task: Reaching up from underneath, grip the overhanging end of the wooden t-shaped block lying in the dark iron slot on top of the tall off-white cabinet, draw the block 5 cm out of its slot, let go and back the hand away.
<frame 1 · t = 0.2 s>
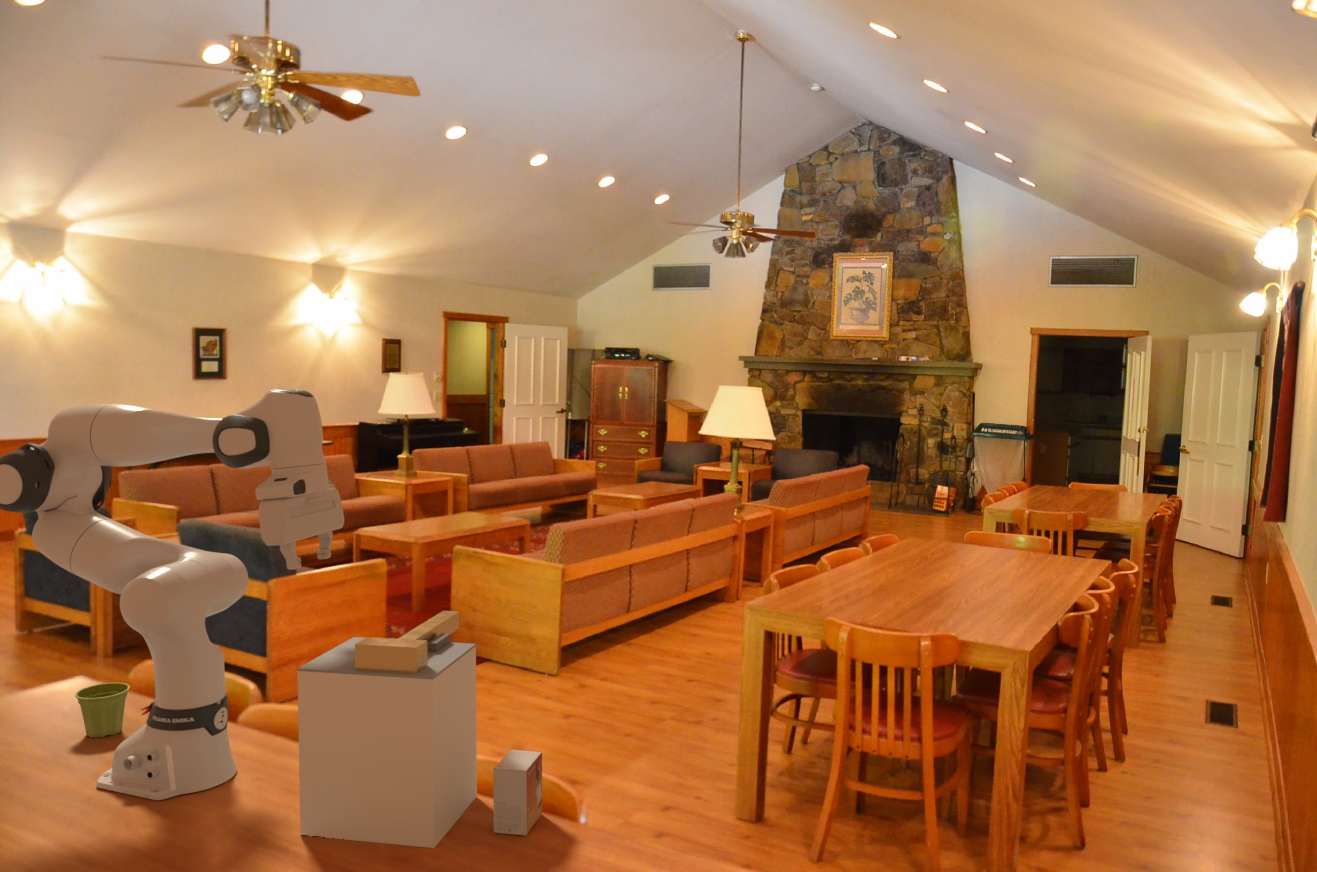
hand: (309, 563, 163), 39 cm above the table, tool pointing down, fingers open, 8 cm apart
plant pot: (104, 733, 190), on the table
wooden t-shaped block: (426, 644, 160), point 26 cm above the table, touching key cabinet
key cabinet: (392, 814, 155), on the table
small box: (518, 824, 153), on the table
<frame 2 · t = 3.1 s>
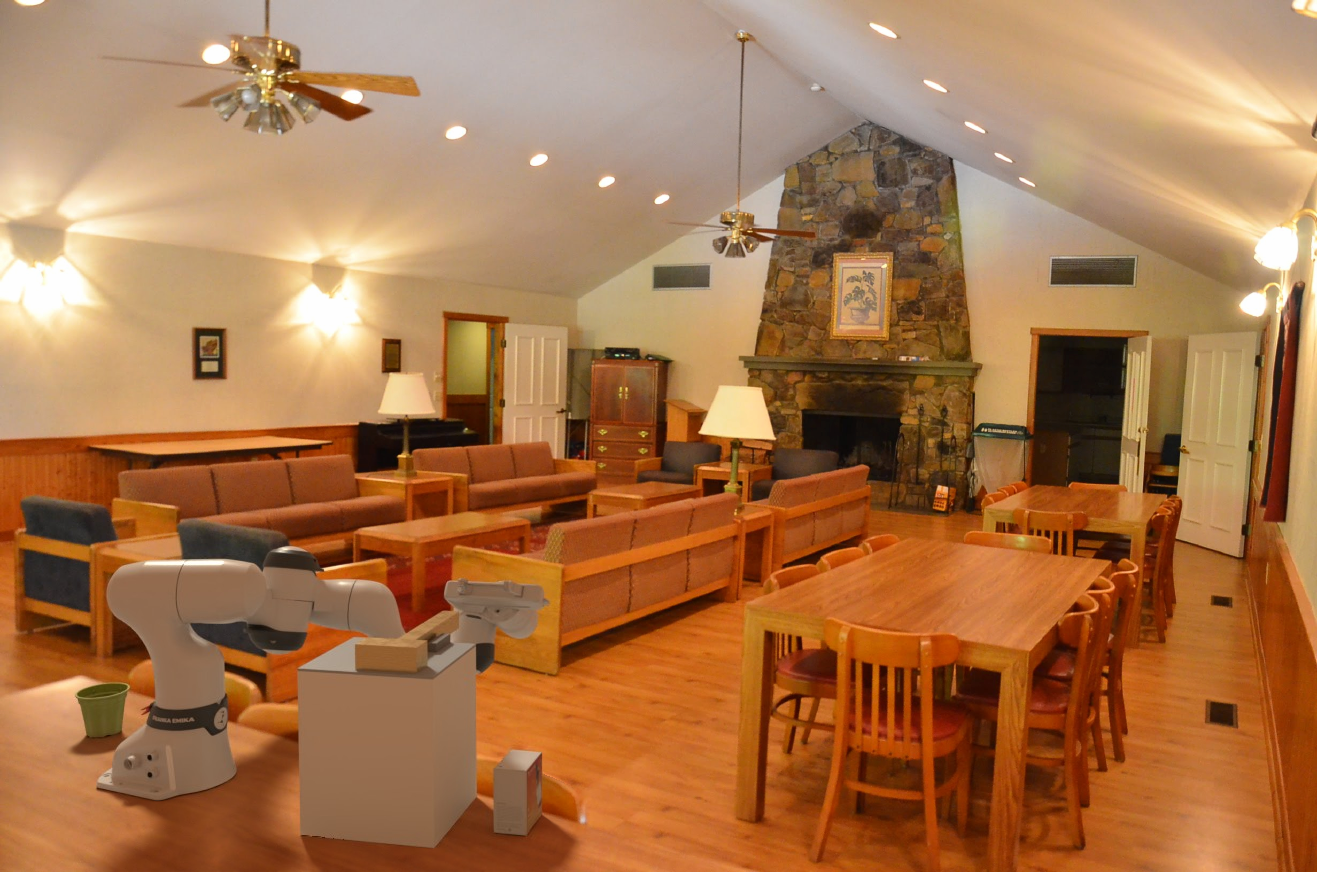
hand: (484, 583, 188), 31 cm above the table, tool pointing upward, fingers open, 8 cm apart
nothing on the table moved.
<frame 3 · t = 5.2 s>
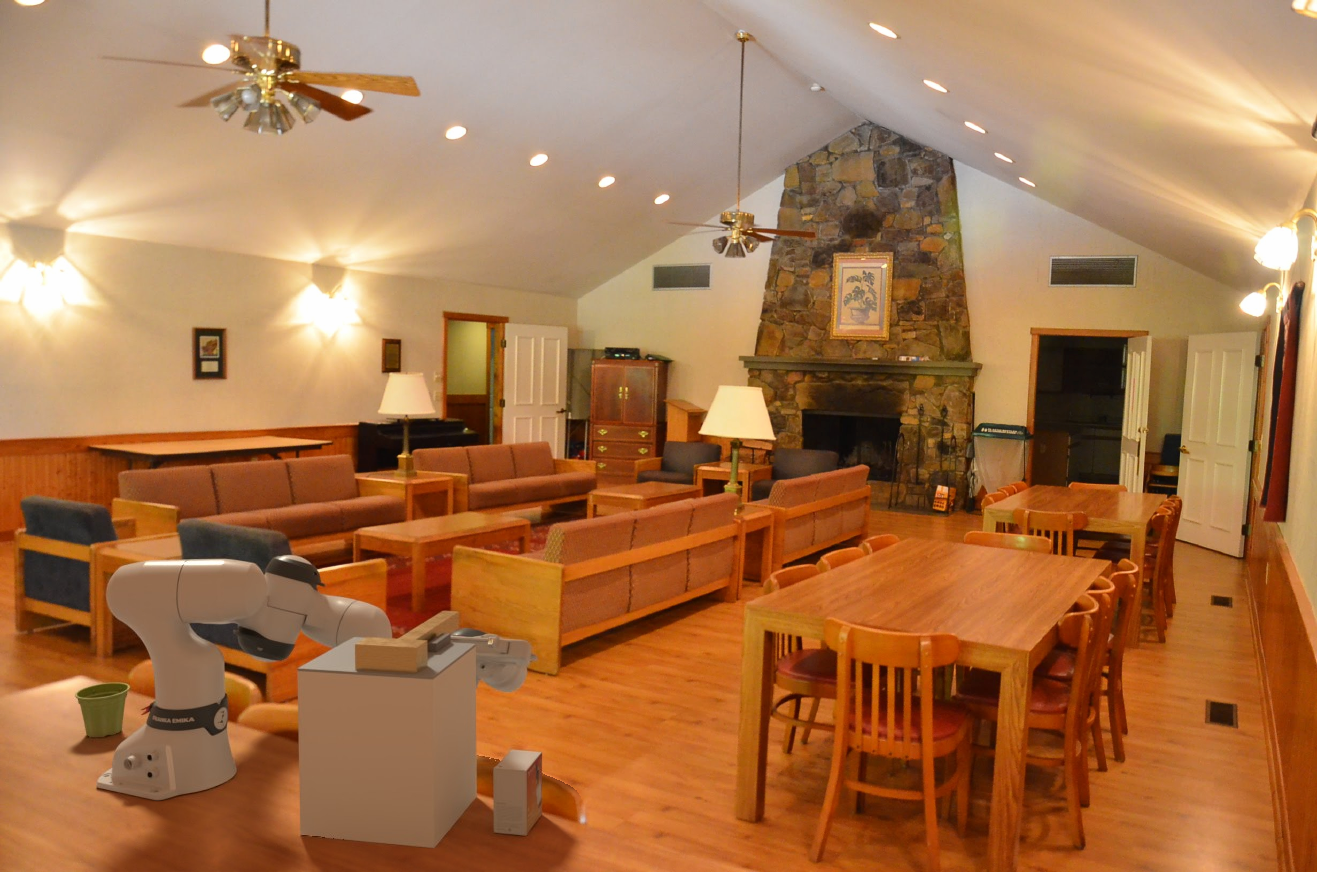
hand: (467, 639, 178), 22 cm above the table, tool pointing upward, fingers open, 8 cm apart
nothing on the table moved.
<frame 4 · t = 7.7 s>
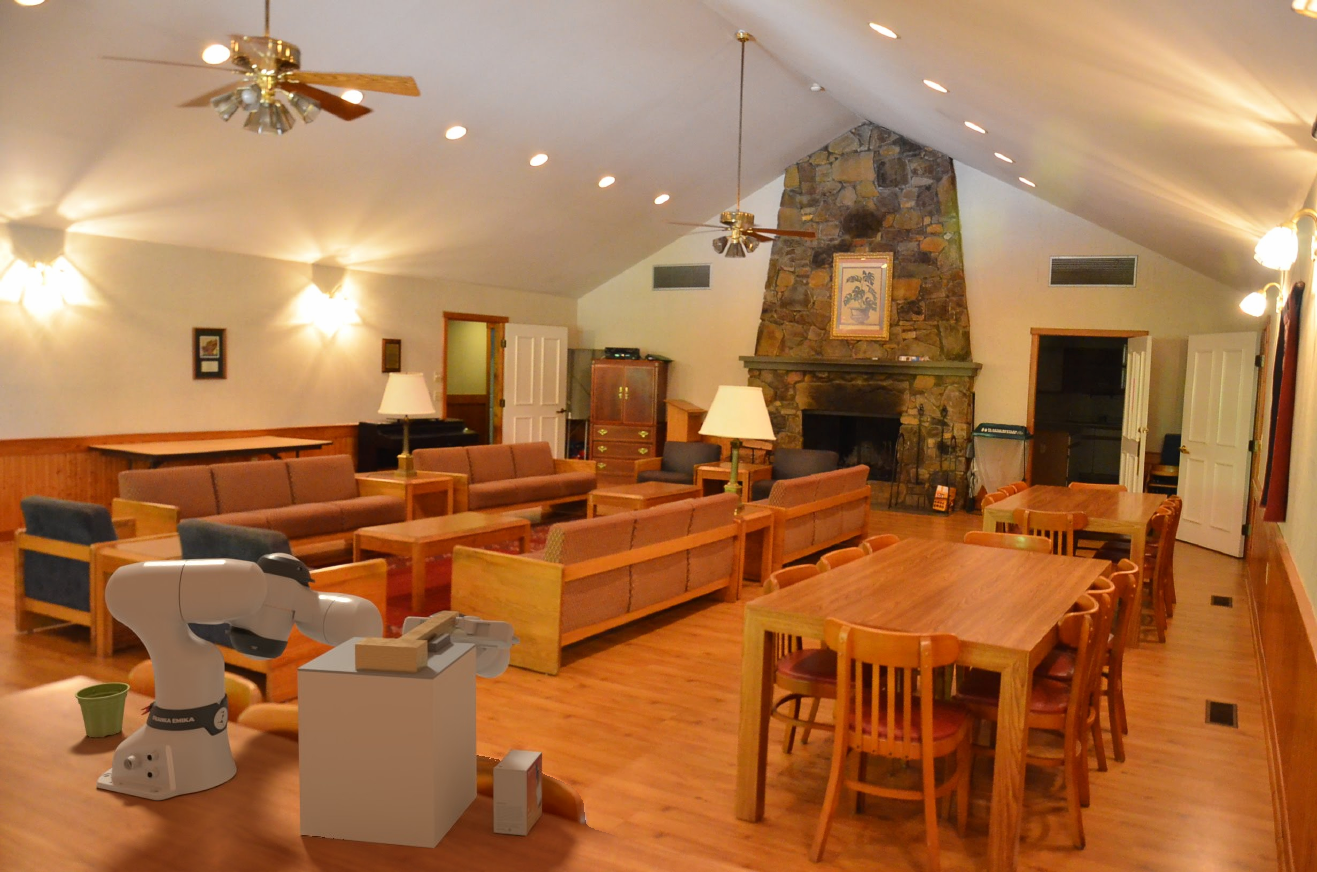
hand: (444, 620, 168), 28 cm above the table, tool pointing upward, fingers closed on wooden t-shaped block, 3 cm apart
wooden t-shaped block: (426, 644, 160), point 26 cm above the table, touching gripper, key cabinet
everything else where it was.
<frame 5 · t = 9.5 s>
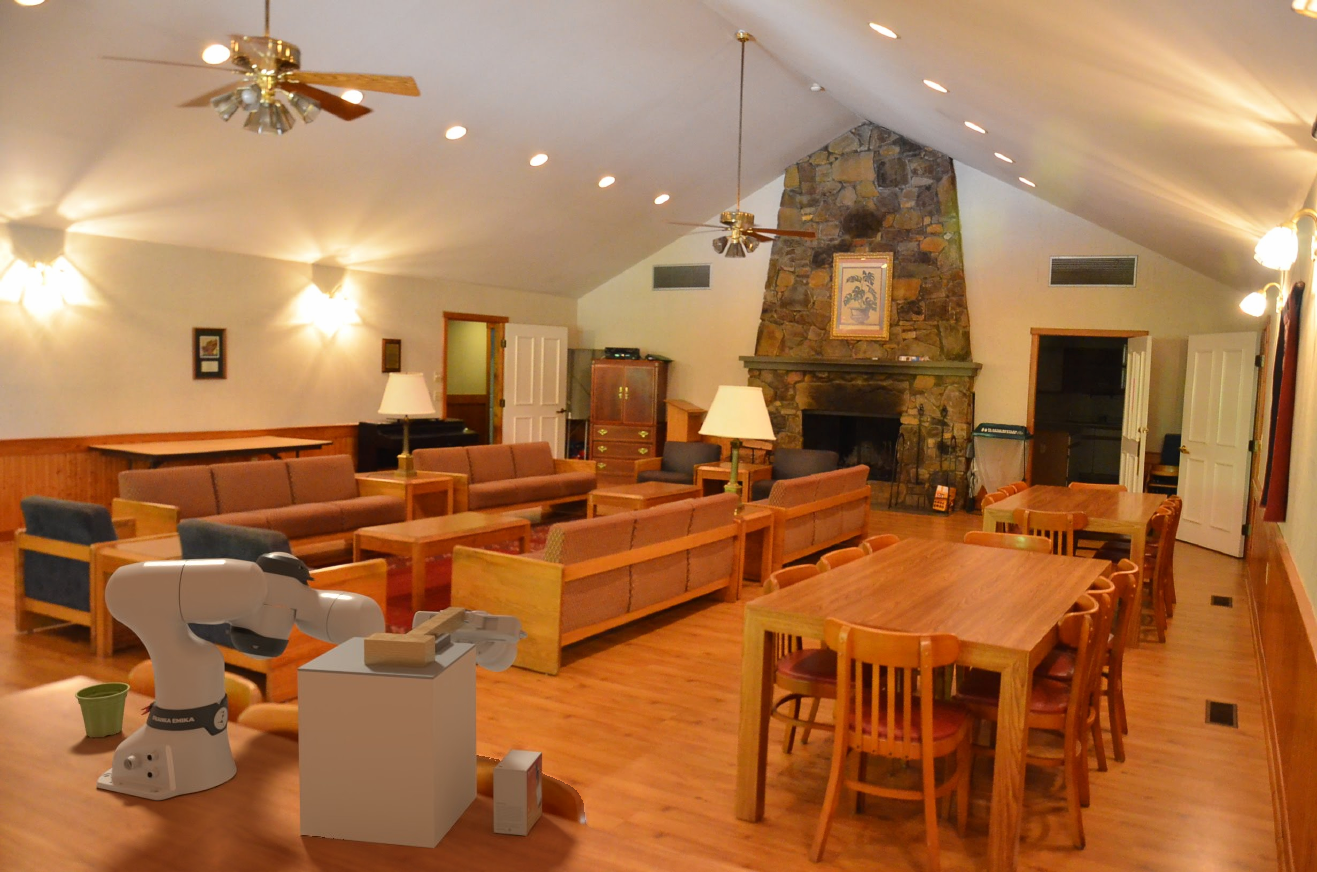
hand: (454, 615, 172), 28 cm above the table, tool pointing upward, fingers closed on wooden t-shaped block, 3 cm apart
wooden t-shaped block: (433, 639, 163), point 26 cm above the table, touching gripper, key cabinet
everything else where it was.
when the fingers open (28 cm above the table, at t = 10.0 s): wooden t-shaped block stays where it is, resting on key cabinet.
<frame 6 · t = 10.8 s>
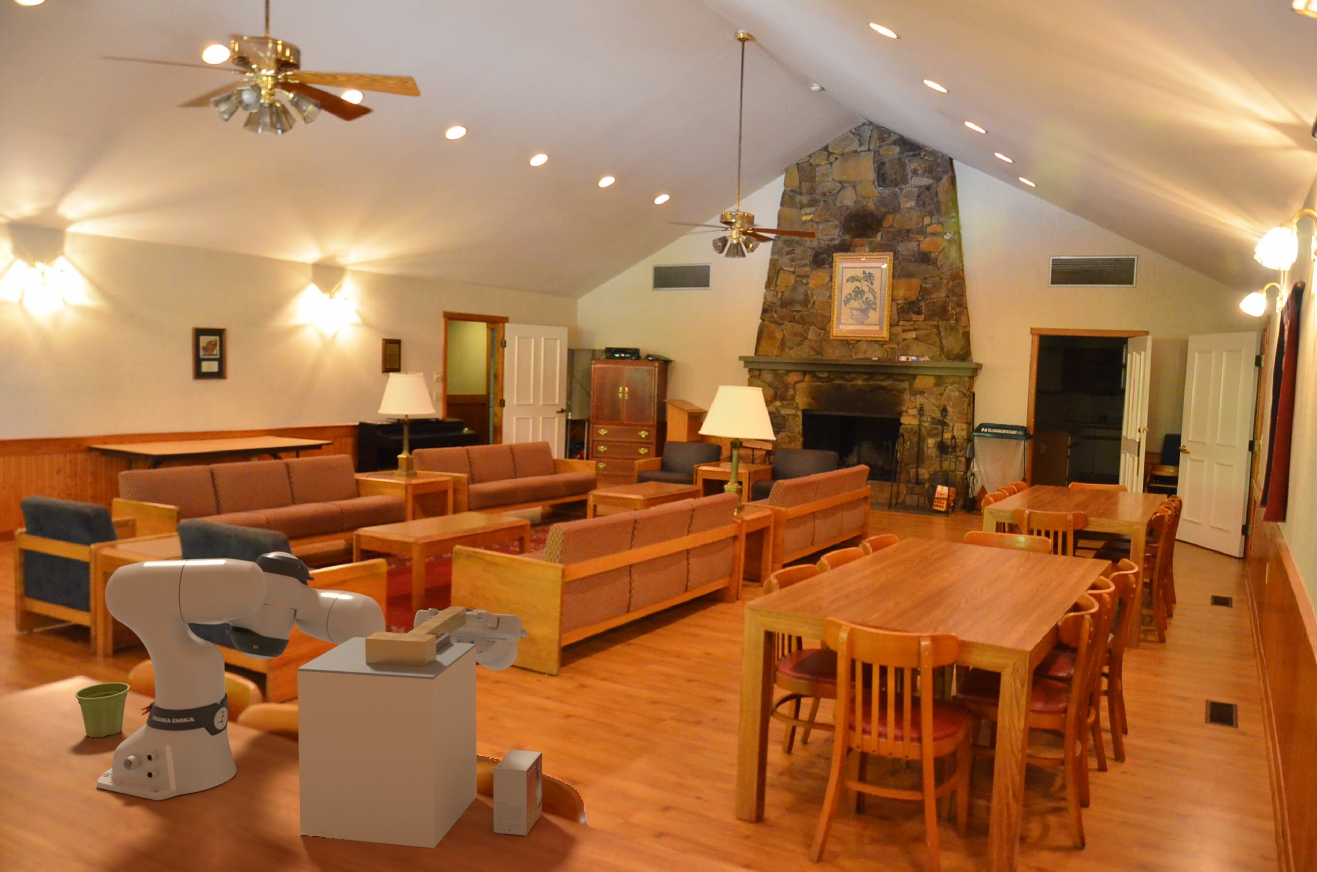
hand: (455, 613, 173), 28 cm above the table, tool pointing upward, fingers open, 8 cm apart
wooden t-shaped block: (434, 639, 163), point 26 cm above the table, touching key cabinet
everything else where it was.
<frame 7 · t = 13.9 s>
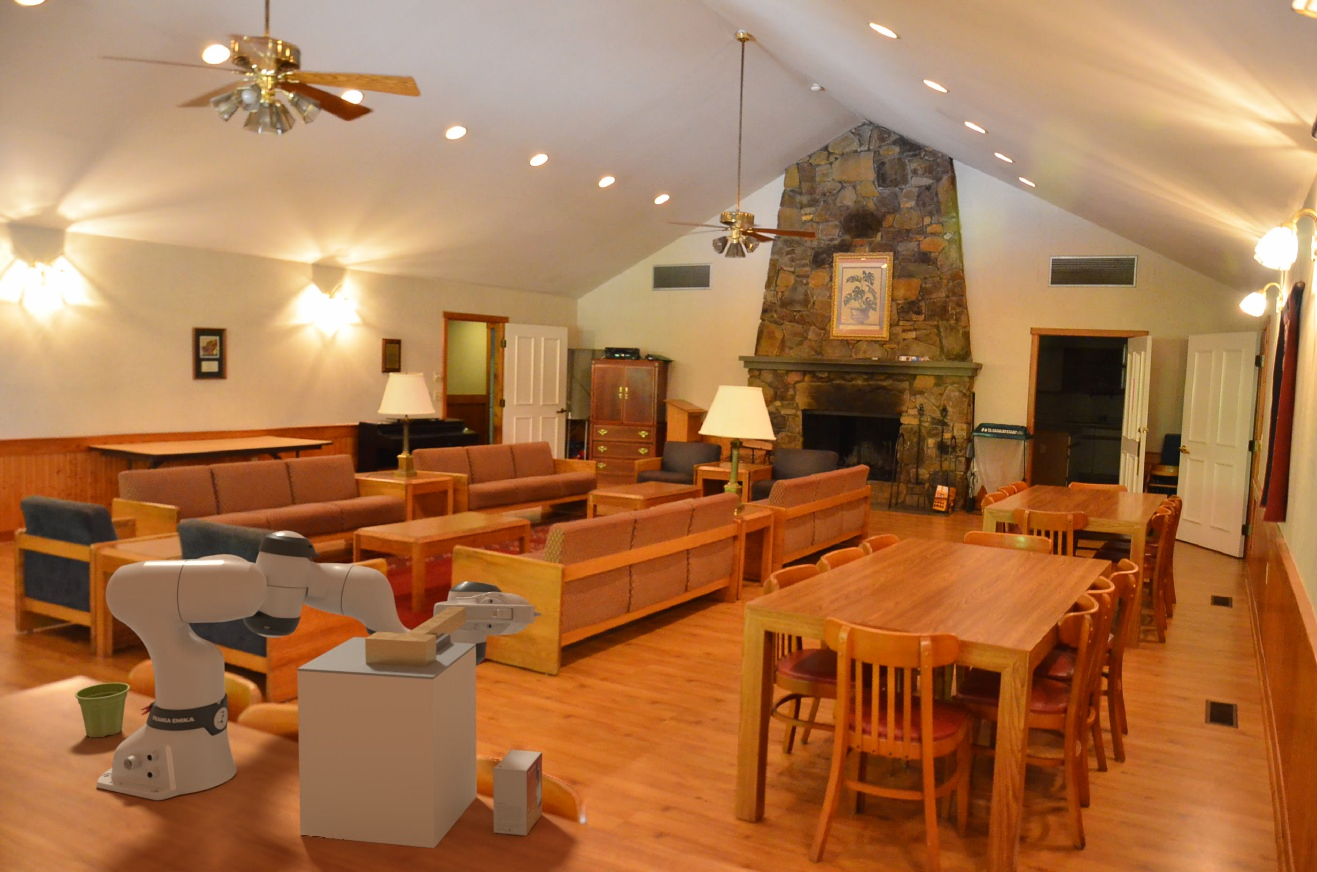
hand: (472, 613, 184), 26 cm above the table, tool horizontal, fingers open, 8 cm apart
nothing on the table moved.
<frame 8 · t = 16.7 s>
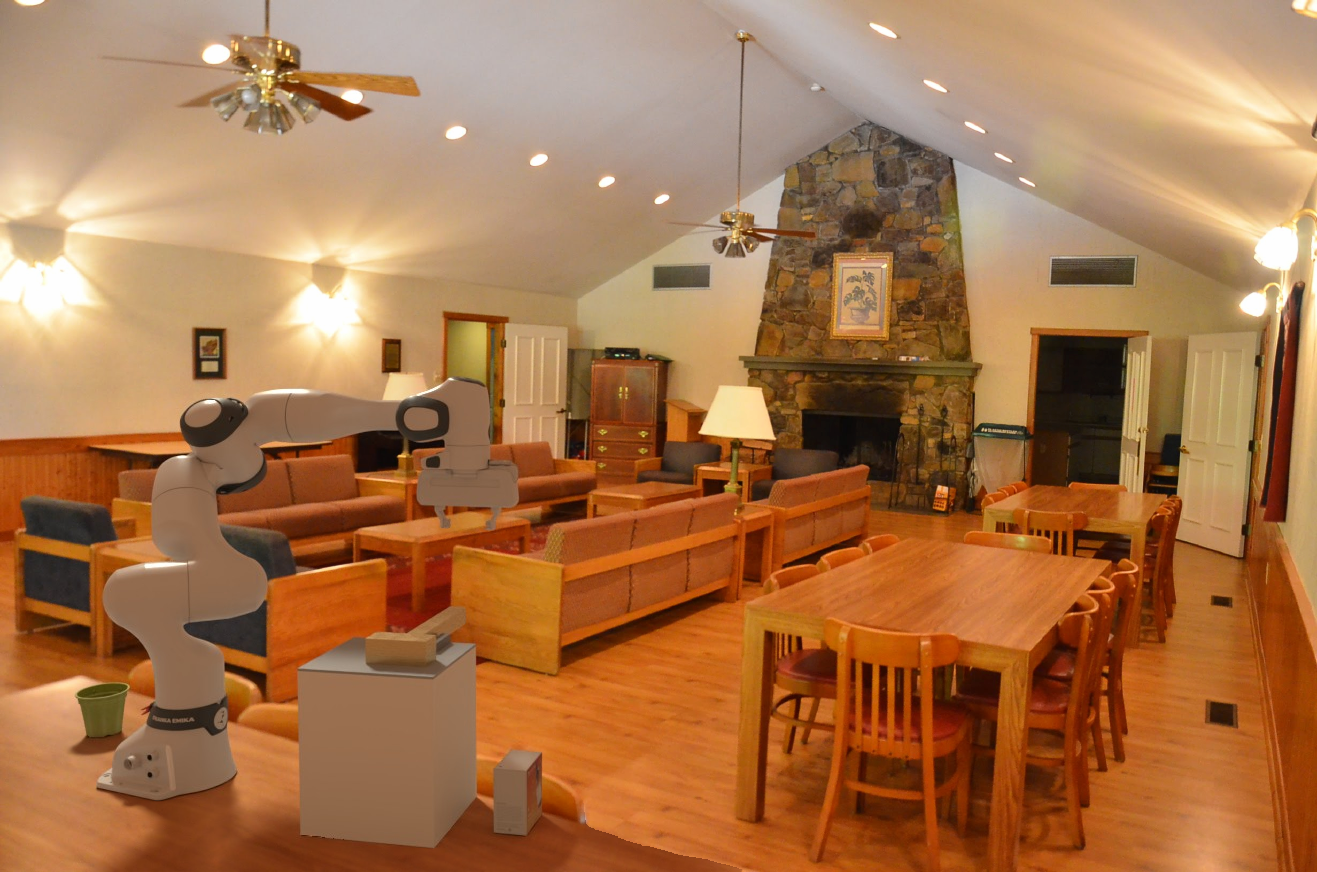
hand: (468, 528, 189), 41 cm above the table, tool pointing down, fingers open, 8 cm apart
nothing on the table moved.
at the end: wooden t-shaped block 2.3 cm from the target spot, point 26.4 cm above the table; wooden t-shaped block tilted 0°; the gripper is holding nothing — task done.
